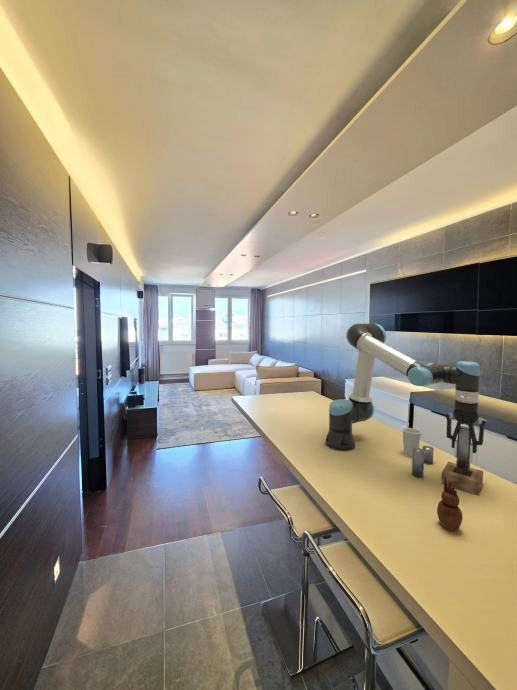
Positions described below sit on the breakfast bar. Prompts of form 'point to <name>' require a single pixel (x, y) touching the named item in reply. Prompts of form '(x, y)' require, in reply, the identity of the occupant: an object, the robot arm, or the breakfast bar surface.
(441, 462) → the breakfast bar surface
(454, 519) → the wooden figurine
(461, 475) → the hole block
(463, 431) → the long pin
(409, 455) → the cup
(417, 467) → the medium pin
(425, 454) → the short pin
